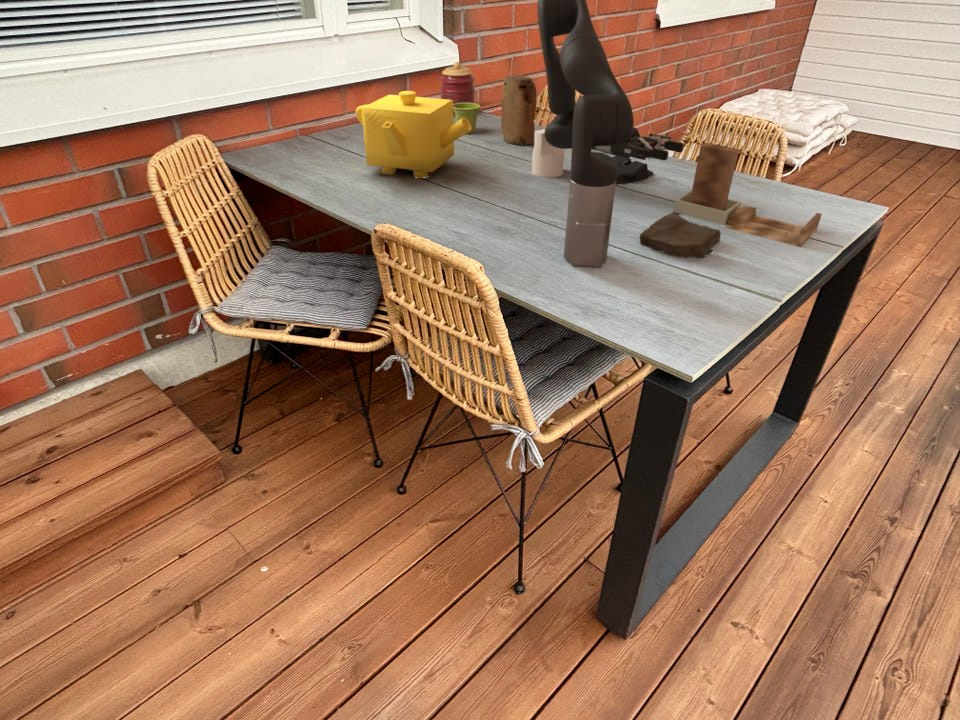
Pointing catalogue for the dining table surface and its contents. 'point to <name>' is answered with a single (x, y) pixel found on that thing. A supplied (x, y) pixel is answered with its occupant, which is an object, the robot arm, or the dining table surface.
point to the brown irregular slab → (680, 237)
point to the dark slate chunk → (627, 168)
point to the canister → (457, 84)
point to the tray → (705, 209)
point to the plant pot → (467, 113)
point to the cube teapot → (410, 132)
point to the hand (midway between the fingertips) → (675, 151)
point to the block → (518, 110)
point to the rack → (771, 227)
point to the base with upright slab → (546, 157)
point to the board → (714, 176)
